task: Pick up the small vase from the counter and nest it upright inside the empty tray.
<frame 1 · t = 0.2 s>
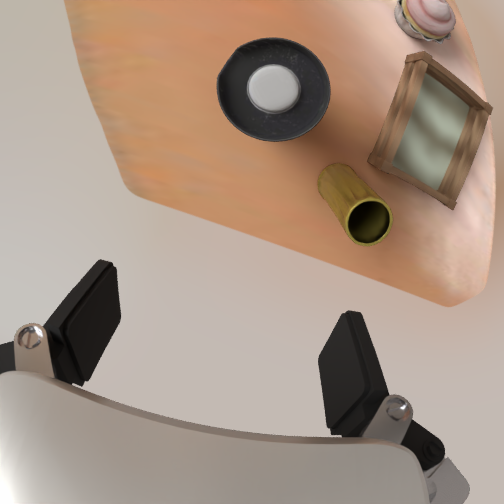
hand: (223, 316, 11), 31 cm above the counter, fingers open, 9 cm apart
vase: (337, 183, 38), on the counter
travel mug: (270, 98, 33), on the counter
tray: (426, 128, 33), on the counter
cupcake: (411, 20, 24), on the counter
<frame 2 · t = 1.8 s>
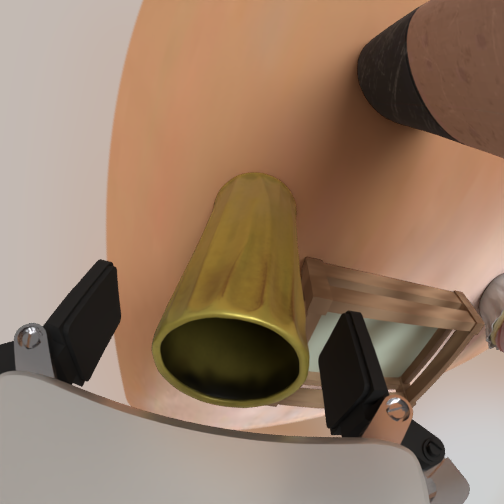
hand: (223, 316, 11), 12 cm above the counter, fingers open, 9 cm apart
vase: (255, 210, 21), on the counter
travel mug: (400, 79, 15), on the counter
tray: (367, 334, 26), on the counter
cupcake: (496, 293, 23), on the counter
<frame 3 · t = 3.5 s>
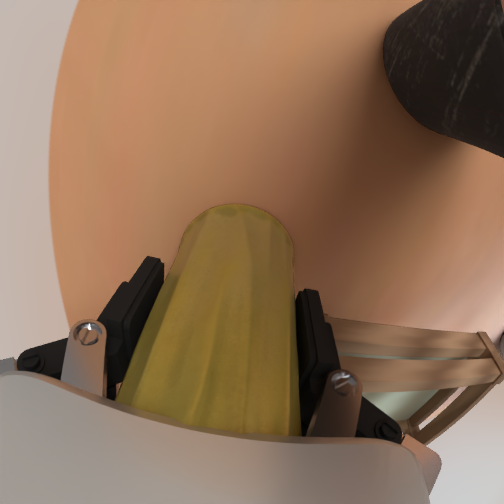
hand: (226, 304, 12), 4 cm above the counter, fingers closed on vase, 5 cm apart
vase: (237, 254, 15), on the counter, touching gripper
travel mug: (438, 71, 10), on the counter
tray: (376, 385, 21), on the counter
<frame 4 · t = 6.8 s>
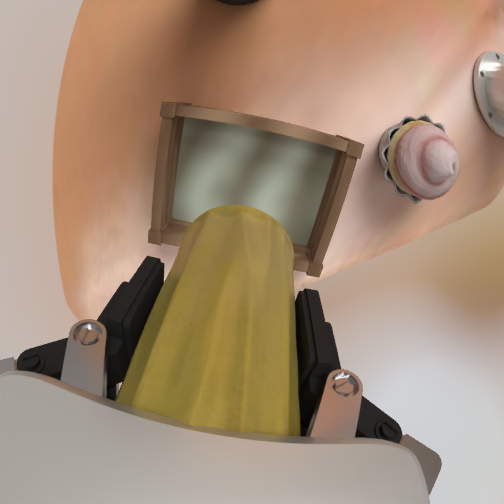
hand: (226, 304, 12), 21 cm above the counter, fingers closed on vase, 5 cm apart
vase: (236, 255, 15), point 17 cm above the counter, touching gripper
tray: (250, 179, 30), on the counter
cupcake: (401, 151, 27), on the counter
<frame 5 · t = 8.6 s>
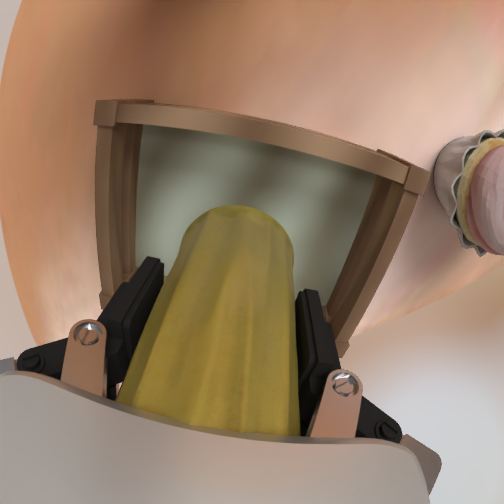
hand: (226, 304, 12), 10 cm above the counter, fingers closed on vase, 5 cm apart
vase: (236, 255, 15), point 5 cm above the counter, touching gripper
tray: (245, 216, 20), on the counter
cupcake: (460, 175, 17), on the counter
when the fingers open (6 cm above the counter, at t = 10.3 s): vase stays where it is, resting on tray.
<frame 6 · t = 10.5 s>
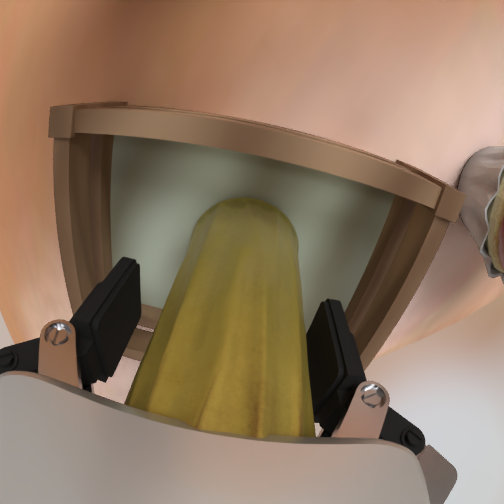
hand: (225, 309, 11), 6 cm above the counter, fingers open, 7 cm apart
vase: (244, 245, 16), point 1 cm above the counter, touching tray
tray: (238, 240, 17), on the counter
cupcake: (484, 189, 14), on the counter
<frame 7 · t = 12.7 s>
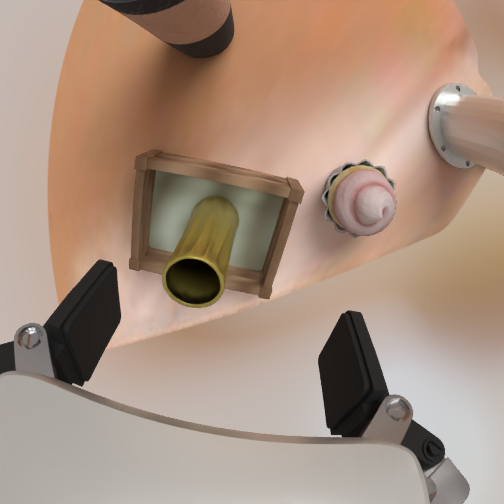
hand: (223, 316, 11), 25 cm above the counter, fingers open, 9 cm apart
vase: (215, 218, 35), point 1 cm above the counter, touching tray
travel mug: (204, 33, 25), on the counter
tray: (212, 216, 36), on the counter
cupcake: (348, 188, 34), on the counter
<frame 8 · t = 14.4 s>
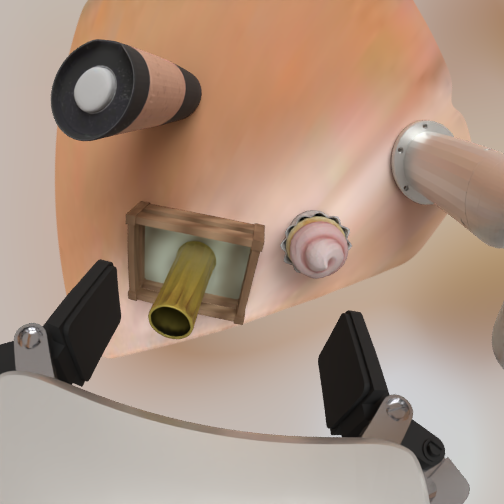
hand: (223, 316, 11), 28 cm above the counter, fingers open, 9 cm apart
vase: (196, 257, 42), point 1 cm above the counter, touching tray
travel mug: (175, 95, 31), on the counter
tray: (194, 255, 42), on the counter
cupcake: (311, 229, 40), on the counter
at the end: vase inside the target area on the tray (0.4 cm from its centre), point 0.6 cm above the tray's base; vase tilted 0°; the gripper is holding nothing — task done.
